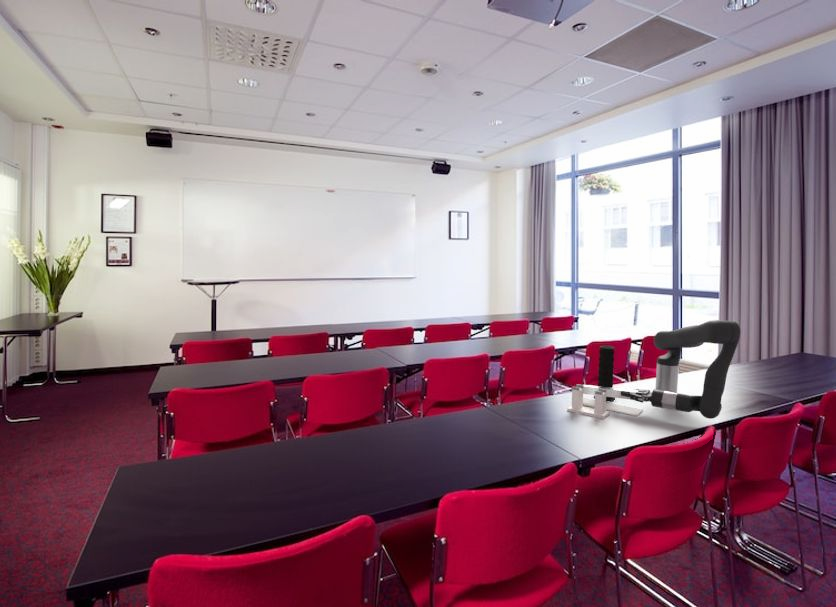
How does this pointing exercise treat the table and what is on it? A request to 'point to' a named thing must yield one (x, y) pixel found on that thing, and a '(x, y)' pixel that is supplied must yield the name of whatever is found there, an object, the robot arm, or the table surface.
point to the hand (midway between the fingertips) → (622, 392)
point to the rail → (607, 391)
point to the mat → (614, 407)
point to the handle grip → (606, 368)
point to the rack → (578, 407)
